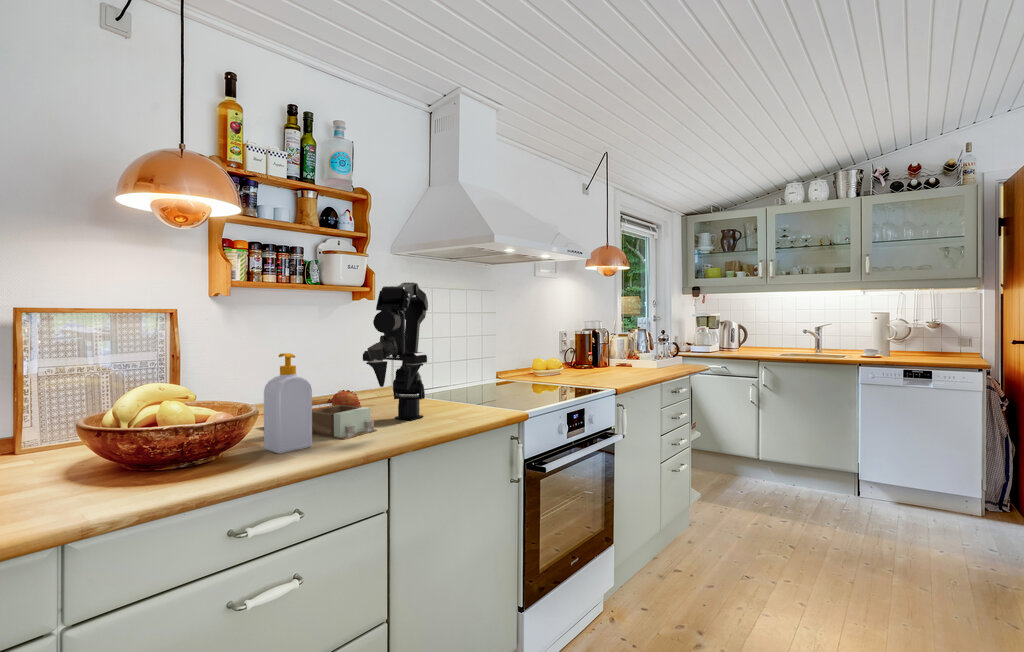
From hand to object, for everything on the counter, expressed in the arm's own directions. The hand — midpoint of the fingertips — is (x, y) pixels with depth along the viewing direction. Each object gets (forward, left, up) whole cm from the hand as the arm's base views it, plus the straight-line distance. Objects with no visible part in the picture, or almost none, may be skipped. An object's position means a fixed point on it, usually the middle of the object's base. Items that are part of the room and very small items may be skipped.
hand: (394, 388), depth 147 cm
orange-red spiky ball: (-8, -27, -12) cm, 31 cm away
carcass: (+8, -11, -12) cm, 18 cm away
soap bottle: (+27, -10, -12) cm, 31 cm away
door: (+8, -8, -12) cm, 16 cm away
